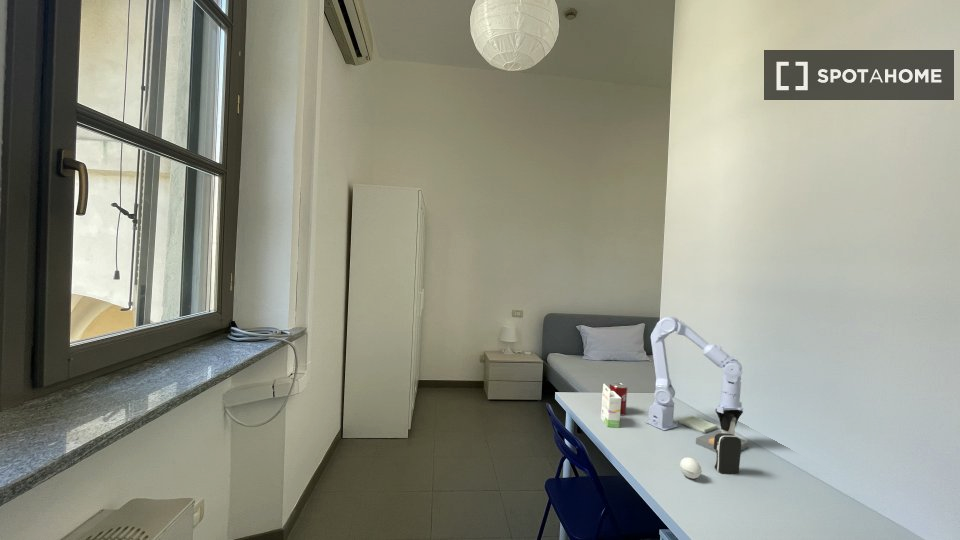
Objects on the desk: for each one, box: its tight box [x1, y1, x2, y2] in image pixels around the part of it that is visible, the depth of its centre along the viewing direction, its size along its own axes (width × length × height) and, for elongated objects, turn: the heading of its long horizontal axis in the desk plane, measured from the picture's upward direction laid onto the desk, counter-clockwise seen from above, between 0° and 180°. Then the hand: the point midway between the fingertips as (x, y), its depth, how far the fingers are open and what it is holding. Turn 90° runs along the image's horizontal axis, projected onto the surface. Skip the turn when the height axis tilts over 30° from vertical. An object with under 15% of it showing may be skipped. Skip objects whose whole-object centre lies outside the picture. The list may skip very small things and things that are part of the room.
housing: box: [695, 429, 749, 453], centre depth 128 cm, size 16×10×2 cm, turn 121°
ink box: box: [600, 383, 621, 429], centre depth 141 cm, size 9×5×15 cm, turn 179°
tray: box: [678, 415, 718, 435], centre depth 143 cm, size 10×10×2 cm
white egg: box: [679, 456, 708, 479], centre depth 105 cm, size 8×6×6 cm
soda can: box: [608, 382, 628, 416], centre depth 152 cm, size 7×7×12 cm
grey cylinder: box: [720, 417, 736, 436], centre depth 130 cm, size 4×4×8 cm
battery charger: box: [714, 433, 742, 474], centre depth 111 cm, size 7×4×11 cm, turn 94°
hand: (727, 429), depth 130 cm, fingers closed on grey cylinder, 4 cm apart
